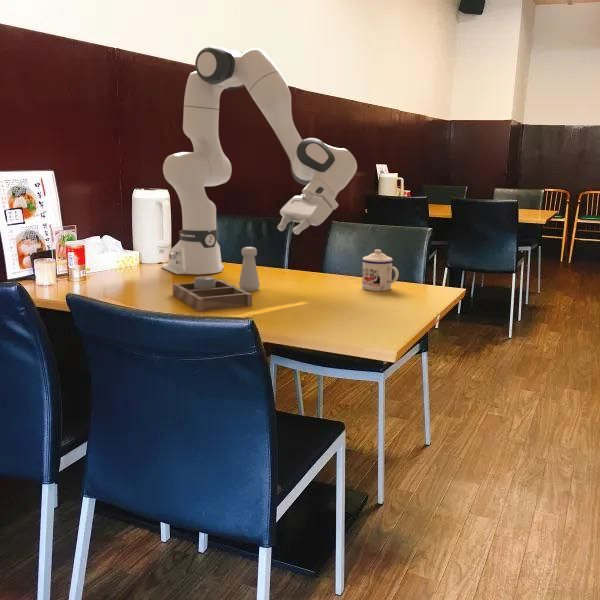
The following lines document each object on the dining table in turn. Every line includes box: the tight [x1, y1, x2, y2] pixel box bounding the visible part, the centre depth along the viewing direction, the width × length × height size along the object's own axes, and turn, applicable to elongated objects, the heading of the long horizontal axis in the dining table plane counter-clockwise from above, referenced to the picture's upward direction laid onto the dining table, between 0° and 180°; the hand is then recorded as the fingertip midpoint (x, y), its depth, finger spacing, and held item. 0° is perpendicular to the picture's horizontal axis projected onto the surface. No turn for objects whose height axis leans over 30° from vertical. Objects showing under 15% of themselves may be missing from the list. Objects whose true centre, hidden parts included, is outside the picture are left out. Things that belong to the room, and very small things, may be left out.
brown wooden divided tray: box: [172, 279, 253, 312], centre depth 162 cm, size 21×14×4 cm
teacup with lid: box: [361, 249, 400, 292], centre depth 183 cm, size 12×9×12 cm
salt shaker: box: [238, 246, 260, 292], centre depth 176 cm, size 6×6×13 cm
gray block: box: [193, 275, 216, 290], centre depth 166 cm, size 6×6×5 cm
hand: (287, 231), depth 179 cm, fingers open, 8 cm apart
